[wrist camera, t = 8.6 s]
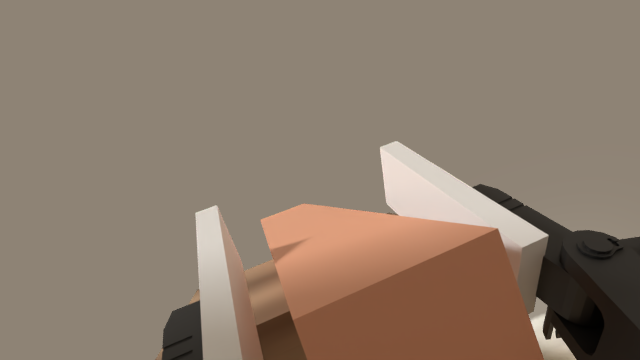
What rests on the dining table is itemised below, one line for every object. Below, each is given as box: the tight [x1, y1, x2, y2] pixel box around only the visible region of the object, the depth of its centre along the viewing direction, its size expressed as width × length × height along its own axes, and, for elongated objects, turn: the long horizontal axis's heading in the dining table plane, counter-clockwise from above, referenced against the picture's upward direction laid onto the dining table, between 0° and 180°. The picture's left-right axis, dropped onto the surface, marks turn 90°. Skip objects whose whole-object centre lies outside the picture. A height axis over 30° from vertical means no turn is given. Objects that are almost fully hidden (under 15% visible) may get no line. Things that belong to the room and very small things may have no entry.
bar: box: [261, 204, 544, 360], centre depth 17 cm, size 24×4×3 cm, turn 12°
